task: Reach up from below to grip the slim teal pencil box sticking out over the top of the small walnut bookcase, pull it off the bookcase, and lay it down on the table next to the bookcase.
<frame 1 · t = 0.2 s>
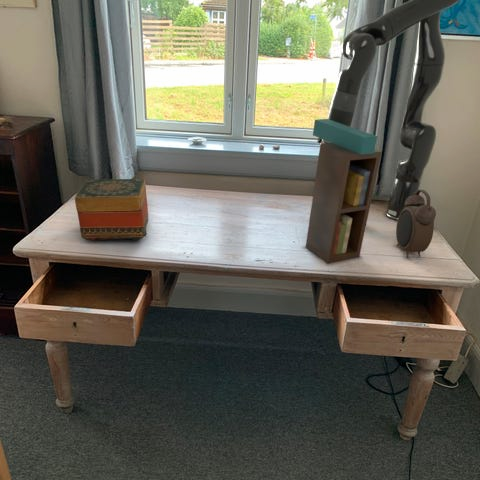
hand: (328, 162, 153), 23 cm above the table, tool pointing down, fingers open, 8 cm apart
decorative box: (117, 233, 153), on the table
alarm clock: (406, 253, 154), on the table
pencil box: (341, 143, 136), point 32 cm above the table, touching bookcase
bookcase: (332, 252, 151), on the table
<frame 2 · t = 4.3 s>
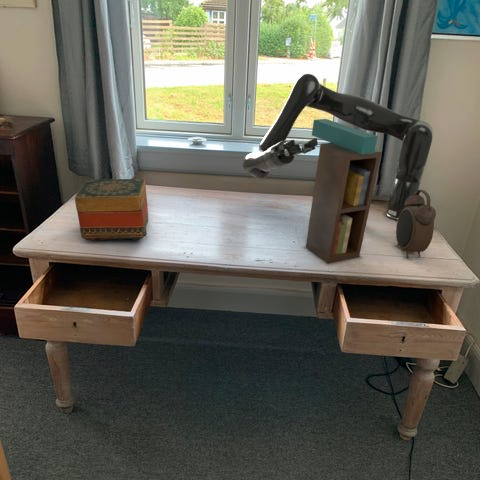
hand: (305, 142, 150), 28 cm above the table, tool pointing upward, fingers open, 8 cm apart
nothing on the table moved.
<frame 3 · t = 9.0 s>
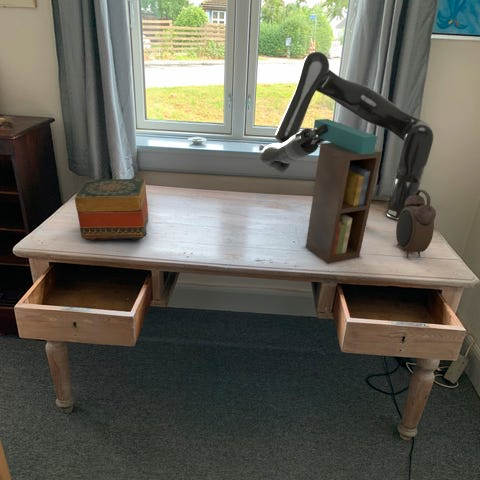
hand: (333, 127, 137), 36 cm above the table, tool pointing upward, fingers closed on pencil box, 4 cm apart
pencil box: (341, 143, 136), point 32 cm above the table, touching bookcase, gripper
everything else where it was.
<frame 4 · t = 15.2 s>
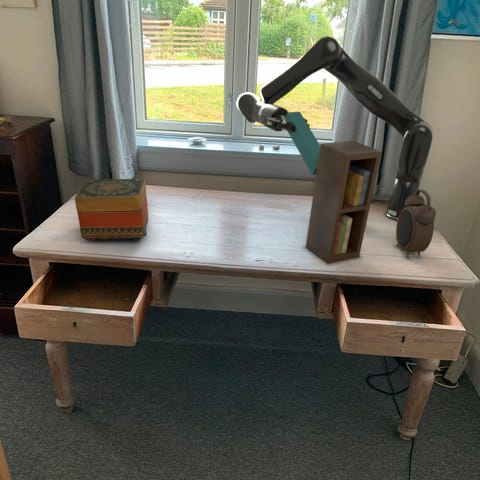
hand: (301, 128, 150), 32 cm above the table, tool horizontal, fingers closed on pencil box, 4 cm apart
pencil box: (303, 148, 152), point 26 cm above the table, tilted 30°, touching gripper
everything else where it was.
when the fingers open (11 cm above the table, at t = 21.2 s): pencil box drops 5 cm, on the table.
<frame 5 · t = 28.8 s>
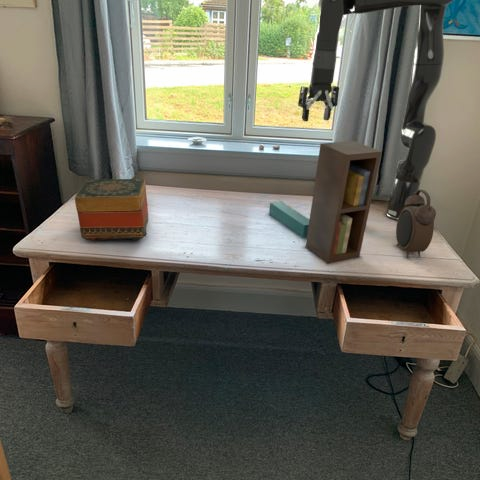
hand: (315, 120, 161), 32 cm above the table, tool pointing down, fingers open, 8 cm apart
pencil box: (290, 224, 168), on the table
everything else where it was.
at the end: pencil box inside the target area (0.5 cm from its centre), on the table; the gripper is holding nothing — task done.
